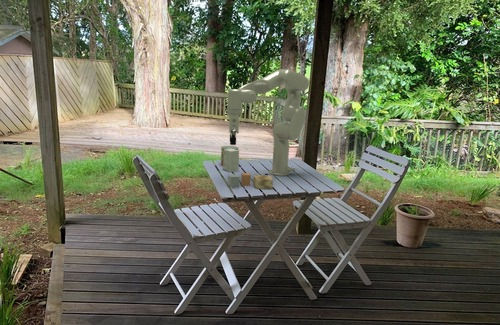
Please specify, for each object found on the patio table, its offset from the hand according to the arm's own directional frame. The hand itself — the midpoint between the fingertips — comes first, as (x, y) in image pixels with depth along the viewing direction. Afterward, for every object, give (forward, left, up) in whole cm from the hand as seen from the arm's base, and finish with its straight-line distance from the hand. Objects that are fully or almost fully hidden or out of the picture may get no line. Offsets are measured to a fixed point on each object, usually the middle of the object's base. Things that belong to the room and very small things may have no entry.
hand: (232, 143), depth 206 cm
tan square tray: (-16, +12, -21) cm, 29 cm away
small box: (-1, -23, -21) cm, 32 cm away
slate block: (0, +13, -21) cm, 25 cm away
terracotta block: (-7, +9, -21) cm, 24 cm away
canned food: (-1, -37, -21) cm, 43 cm away
